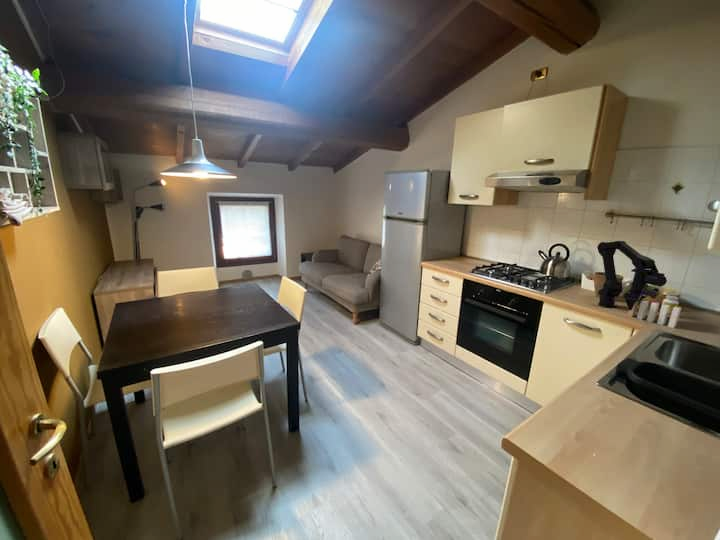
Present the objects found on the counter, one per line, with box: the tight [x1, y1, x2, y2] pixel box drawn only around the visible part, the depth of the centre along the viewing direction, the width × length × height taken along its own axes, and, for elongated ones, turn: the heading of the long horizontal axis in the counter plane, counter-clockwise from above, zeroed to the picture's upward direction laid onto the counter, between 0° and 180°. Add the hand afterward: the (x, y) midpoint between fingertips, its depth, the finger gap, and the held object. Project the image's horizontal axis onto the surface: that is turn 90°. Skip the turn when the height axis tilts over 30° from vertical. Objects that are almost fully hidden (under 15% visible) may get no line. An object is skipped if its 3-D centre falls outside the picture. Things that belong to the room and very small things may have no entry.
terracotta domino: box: [626, 301, 639, 318], centre depth 160 cm, size 2×5×10 cm, turn 122°
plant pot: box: [593, 271, 625, 299], centre depth 190 cm, size 15×15×16 cm
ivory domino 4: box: [667, 306, 682, 329], centre depth 147 cm, size 2×5×10 cm, turn 123°
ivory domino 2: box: [646, 301, 660, 323], centre depth 153 cm, size 2×5×10 cm, turn 123°
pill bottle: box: [659, 294, 680, 318], centre depth 163 cm, size 6×6×11 cm
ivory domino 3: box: [656, 304, 670, 326], centre depth 150 cm, size 2×5×10 cm, turn 123°
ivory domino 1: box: [636, 298, 650, 320], centre depth 157 cm, size 2×5×10 cm, turn 123°
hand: (632, 308), depth 160 cm, fingers open, 9 cm apart
